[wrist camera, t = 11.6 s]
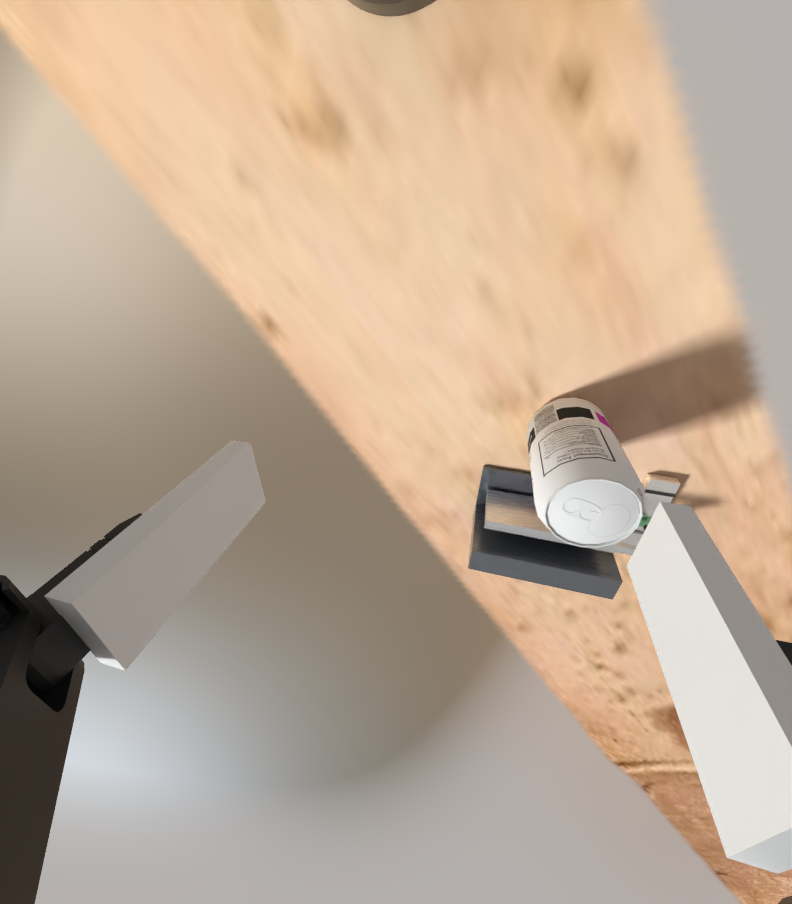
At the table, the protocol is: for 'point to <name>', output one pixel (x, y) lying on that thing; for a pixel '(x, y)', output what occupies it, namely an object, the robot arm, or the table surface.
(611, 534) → the supplement can
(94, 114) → the table surface
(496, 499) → the gauge plunger
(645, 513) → the gauge housing
